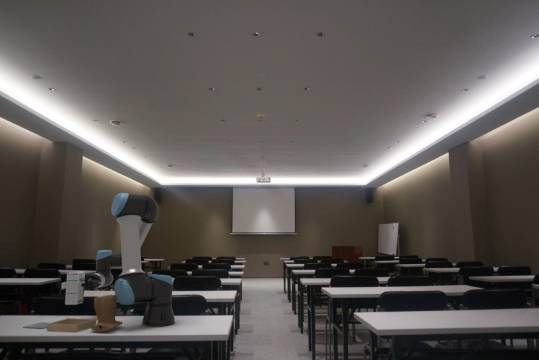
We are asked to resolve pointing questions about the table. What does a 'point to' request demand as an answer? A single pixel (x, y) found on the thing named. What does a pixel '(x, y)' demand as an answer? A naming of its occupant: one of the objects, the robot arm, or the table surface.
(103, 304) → the stone cup
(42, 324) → the slate pad
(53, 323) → the mailer box
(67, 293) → the syrup box
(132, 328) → the table surface
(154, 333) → the table surface
